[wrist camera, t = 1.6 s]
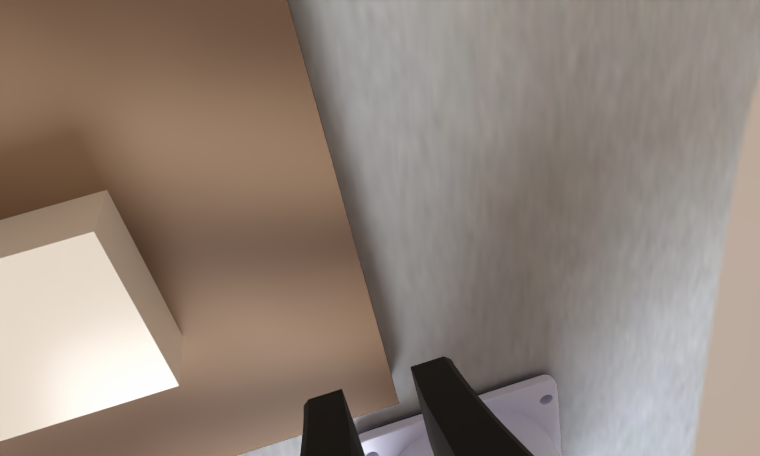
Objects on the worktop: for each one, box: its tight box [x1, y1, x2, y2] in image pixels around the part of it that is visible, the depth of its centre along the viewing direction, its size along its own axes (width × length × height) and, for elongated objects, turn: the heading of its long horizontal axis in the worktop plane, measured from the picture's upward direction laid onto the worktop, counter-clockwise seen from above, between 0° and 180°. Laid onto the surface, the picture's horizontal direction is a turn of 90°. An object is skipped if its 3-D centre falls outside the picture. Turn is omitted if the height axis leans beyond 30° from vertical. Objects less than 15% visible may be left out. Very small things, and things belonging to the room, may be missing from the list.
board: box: [0, 0, 399, 456], centre depth 17 cm, size 16×13×1 cm
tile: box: [0, 190, 183, 441], centre depth 16 cm, size 5×5×2 cm
